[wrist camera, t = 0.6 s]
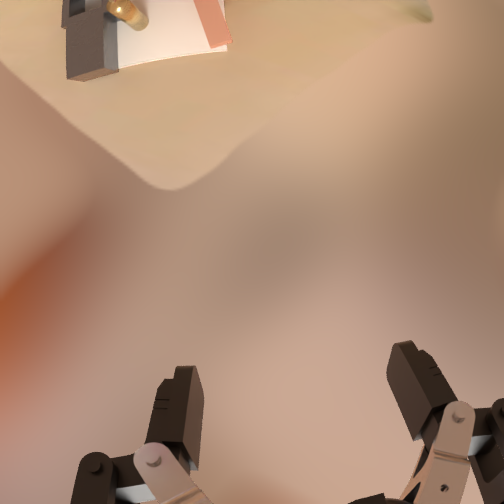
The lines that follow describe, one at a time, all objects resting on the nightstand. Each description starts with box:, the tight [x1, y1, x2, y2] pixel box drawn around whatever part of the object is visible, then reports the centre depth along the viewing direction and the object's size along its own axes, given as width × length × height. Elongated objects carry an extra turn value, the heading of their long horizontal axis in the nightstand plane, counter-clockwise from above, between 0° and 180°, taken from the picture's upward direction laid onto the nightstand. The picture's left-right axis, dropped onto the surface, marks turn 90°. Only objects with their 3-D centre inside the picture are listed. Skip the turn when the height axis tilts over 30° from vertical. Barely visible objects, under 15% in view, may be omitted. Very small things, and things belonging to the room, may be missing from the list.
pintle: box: [106, 0, 149, 31], centre depth 22 cm, size 2×2×8 cm
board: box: [85, 0, 227, 69], centre depth 25 cm, size 12×18×1 cm
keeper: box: [193, 0, 232, 49], centre depth 23 cm, size 10×2×6 cm, turn 17°
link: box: [61, 0, 121, 82], centre depth 23 cm, size 12×6×4 cm, turn 4°
